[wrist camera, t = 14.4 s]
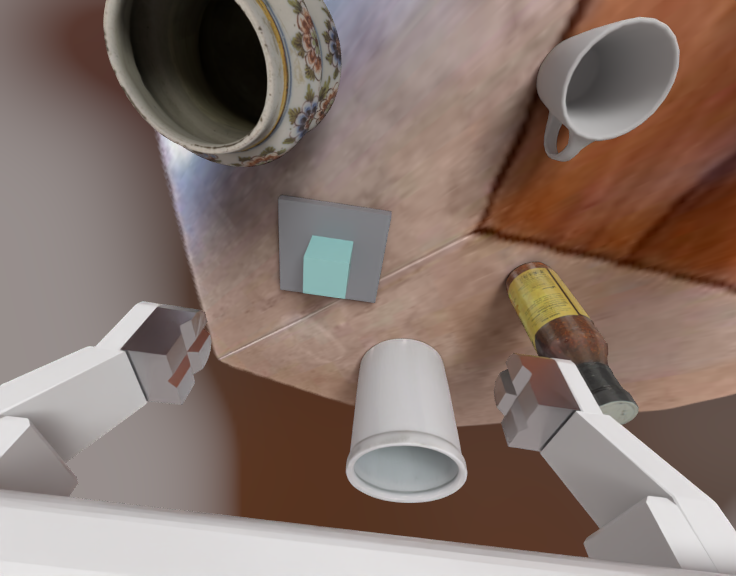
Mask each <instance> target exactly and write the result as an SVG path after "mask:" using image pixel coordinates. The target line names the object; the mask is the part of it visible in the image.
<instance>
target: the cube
mask: <svg viewBox="0 0 736 576" xmlns="http://www.w3.org/2000/svg"><path fill="white" fill-rule="evenodd" d="M352 249H353V241H348V240H341V239H334V238H327V237H320V236H314V235H312V238H311V240H310V243H309V245H308V247H307V250H306V252H305V255H304V265H303V293H307V294H314V295H321V296H328V297H335V298H342V299H345V296H346V291H347V285H348V280H349V273H350V265H351V257H352Z"/></svg>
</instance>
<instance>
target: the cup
mask: <svg viewBox="0 0 736 576" xmlns="http://www.w3.org/2000/svg"><path fill="white" fill-rule="evenodd" d="M678 67H679V47H678V43H677V40H676V36H675V35H674V33H673V32H672V31H671V29H670V28H669V27H668V25H666V24H664V23H662V22H660V21H659V20H657V19H654V18H645V17H637V18H632V19H627V20H623V21H619V22H616V23H612V24H609V25H605V26H602V27H598V28H595V29H592V30H589V31H586V32H584V33H581V34H579V35H576V36H573V37H571V38H569V39H566V40H564V41H562V42H561V43H559V44H558V45H557V46H556V47H554V48H553V49H552V50H551V52H550V53H549V54H548V55H547V56H546V58H545V59H544V61H543V63H542V65H541V66H540V69H539V72H538V76H537V85H536V86H537V92H538V95H539V97H540V99H541V101H542V102H543V103H544V105H545V106H546V107H547V108H548V109H549V117H548V121H547V125H546V130H545V135H544V147H545V151H546V153H547V155H548V156H549V157H550V158H551V159H554V160H558V161H563V162H564V161H569V160H570V159H572V158H573V157H574V156H575V155H577V154H578V152H579V151H580V150H581V149H583V148H584V147H585V146H587V145H588V144H590V143H592V142H593V141H602V140H608V139H613V138H616V137H618V136H621V135H623V134H626V133H628V132H629V131H631V130H633V129H634V128H636V127H637V126H639V125H641V124H642V123H643V122H644V121H645V120H646V119H647V118H649V117H650V116H651V115H652V114H653V113H654V112H655V111H656V110H657V108H658V107H659V106H660V105H661V103H662V102H663V101H664V100H665V98H666V96H667V95H668V93H669V91H670V89H671V87H672V85H673V83H674V81H675V77H676V74H677V71H678ZM562 124H563V125H565V126H566V127H567V128H568V129H569V142H568V145H567V146H566V147H565V149H564V150H563V151H562V152H560V153H558V151H557V146H556V143H557V136H558V132H559V129H560V127H561V125H562Z"/></svg>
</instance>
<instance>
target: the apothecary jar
mask: <svg viewBox="0 0 736 576" xmlns="http://www.w3.org/2000/svg"><path fill="white" fill-rule="evenodd" d="M104 36H105V42H106V48H107V52H108V56H109V59H110V62H111V65H112V67H113V70H114V72H115V74H116V76H117V79H118V80H119V83H120V84H121V86H122V88H123V90H124V91H125V93H126V95H127V97H128V98H129V100H130V101H131V103H132V104H133V106H134V107H135V108H136V110H137V111H138V112H139V113H140V115H141V116H142V117H143V118H144V119H145V120H146V121H147V122H148V123H149V124H150V125H151V126H152V127H153V128H154V129H155V130H157V131H158V132H159V133H160V134H162V135H163V136H164V137H166V138H168V139H169V140H171V141H173V142H175V143H177V144H179V145H181V146H183V147H184V148H186V149H187V150H189V151H191V152H192V153H194V154H196V155H198V156H200V157H202V158H204V159H207V160H209V161H212V162H216V163H219V164H223V165H228V166H236V167H251V166H258V165H262V164H266V163H269V162H271V161H273V160H276V159H278V158H280V157H281V156H283V155H284V154H286V153H287V152H288V151H290V150H291V149H292V148H293V147H294V146H295V145H296V144H297V143H298V142H299V141H300V140H301V139H302V137H303V136H304V135H305V133H307V132H309V131H310V130H312V129H313V128H314V127H315V126H317V125H318V124H319V123H320V122H321V120H322V119H323V118H324V117H325V116H326V114H327V113H328V111H329V110H330V108H331V106H332V104H333V102H334V100H335V97H336V94H337V91H338V87H339V82H340V75H341V49H340V43H339V38H338V34H337V30H336V27H335V24H334V22H333V19H332V17H331V15H330V12H329V10H328V9H327V7H326V5H325V3H324V2H323V0H106V4H105V10H104Z"/></svg>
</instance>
